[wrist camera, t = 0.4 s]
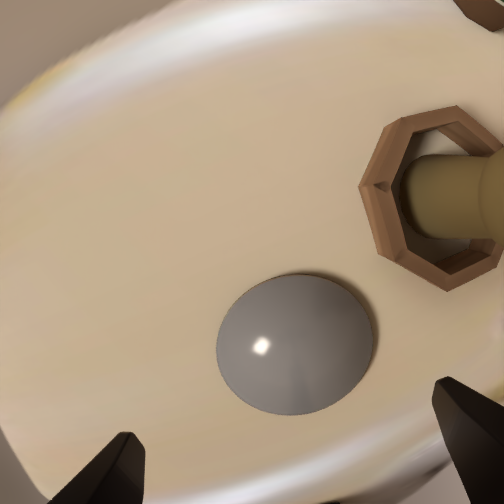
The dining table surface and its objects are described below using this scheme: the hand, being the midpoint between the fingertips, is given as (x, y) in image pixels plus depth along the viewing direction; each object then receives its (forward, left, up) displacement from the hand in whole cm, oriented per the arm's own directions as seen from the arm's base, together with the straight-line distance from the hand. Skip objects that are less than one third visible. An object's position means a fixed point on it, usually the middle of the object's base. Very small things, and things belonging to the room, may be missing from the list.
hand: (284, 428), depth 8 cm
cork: (+2, -13, -14) cm, 19 cm away
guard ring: (+2, -13, -14) cm, 19 cm away
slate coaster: (-4, 0, -14) cm, 14 cm away
